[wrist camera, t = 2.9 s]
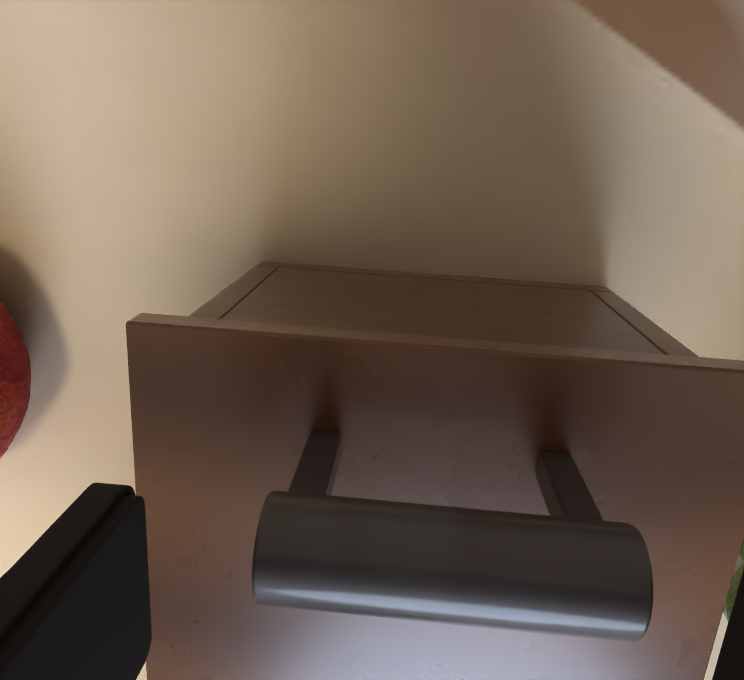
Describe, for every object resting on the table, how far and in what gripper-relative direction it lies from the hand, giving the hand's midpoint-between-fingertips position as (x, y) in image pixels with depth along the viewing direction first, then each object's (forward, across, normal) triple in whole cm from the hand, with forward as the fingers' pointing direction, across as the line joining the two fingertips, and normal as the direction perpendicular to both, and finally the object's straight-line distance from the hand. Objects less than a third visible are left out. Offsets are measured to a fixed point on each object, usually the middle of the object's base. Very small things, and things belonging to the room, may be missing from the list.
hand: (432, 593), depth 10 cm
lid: (+5, 0, +6) cm, 8 cm away
